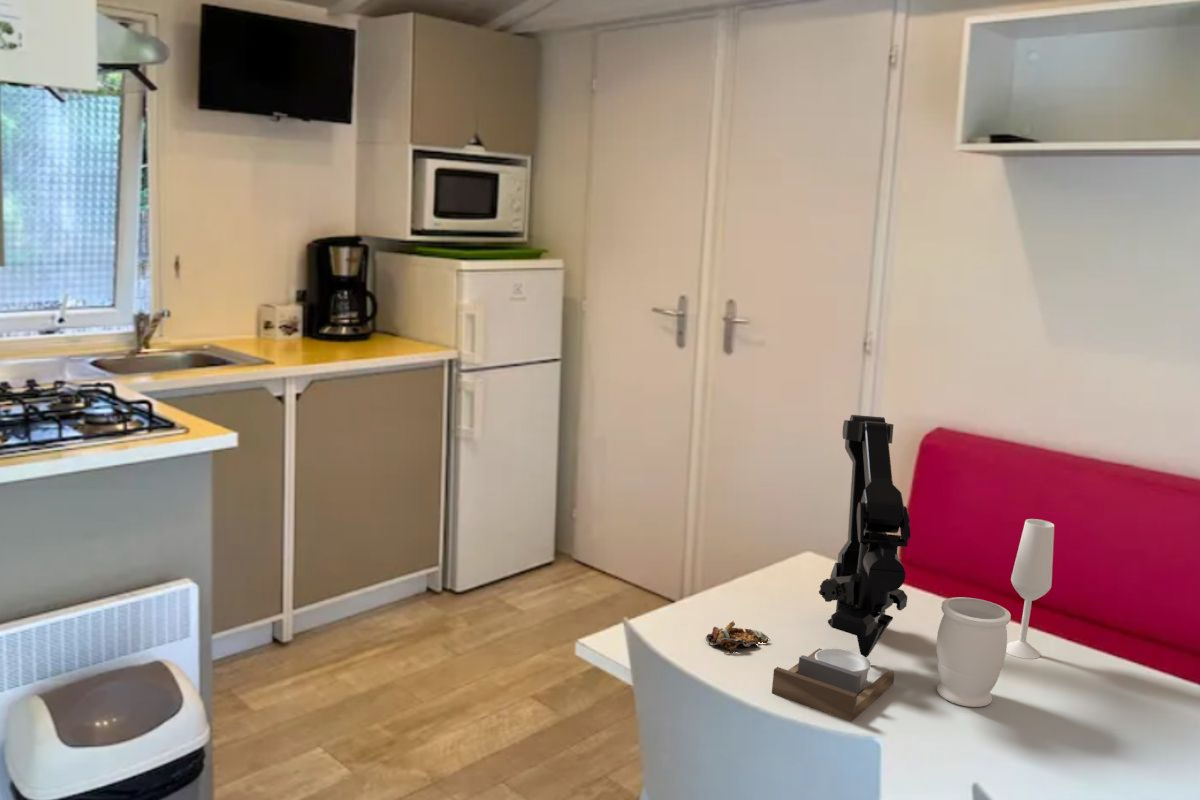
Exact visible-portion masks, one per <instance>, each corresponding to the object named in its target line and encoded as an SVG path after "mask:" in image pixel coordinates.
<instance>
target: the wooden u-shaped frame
mask: <svg viewBox="0 0 1200 800" xmlns="http://www.w3.org/2000/svg"><path fill="white" fill-rule="evenodd" d="M822 649H823V648H820V647H819V648H818V649H816V650H815V651H813V652H812V653H810V654H809V655H807V657H810V658H813V659H815V654H816V652H818V651H819V650H822ZM798 665H799V662H798V663H796V664H795V665H794V666H792V667H791V668H789V669H786V668H785V669H784V668H782V667H779V666H777V667H775V668H774V669H773V673H772V674H773V675H772V684H771V685H772V687H771V694H774V695H777V696H779V697H782V698H785V699H788V700H790V701H793V702H796V703H798V704H802V705H804V706H806V707H807V706H808V707H810V708H811V709H812V708H813V709H816V710H818V711H822V712H823V713H824V712H825V713H827V714H830V715H831V716H832V715H833V716H835V717H838V718H840V719H844V720H846V721H849V722H852V721H854V719H856V718H857V717H858V716H860V714H861V713H862V712H864V711H865V710H866V709H867V708H869V706H870V705H871V704H872V703H874V702H875V701H876V700H878V699H879V697H880V696H882V695H883V694H884V693H885V692H886V691H887V690H888V689H890V688H891V687H892V686H893V685H894V682H895V674H896V672H894V671H891V670H887V671H885V672H883V674H882V675H881V676H879V677H877V679H876V680H875V681H873V682H872V683H871V684H870V685H869V686H868V687H866V688H864V689H863V690H862V692H861V693H859V695H858V696H857V694H855V693H852V692H850V691H847V690H844V689H841V688H838V687H835V686H832V685H829V684H826V683H823V682H820V681H817V680H814V679H812V678H809V677H806V676H803V675H800V674H798Z"/></svg>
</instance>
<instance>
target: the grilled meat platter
mask: <svg viewBox="0 0 1200 800" xmlns="http://www.w3.org/2000/svg"><path fill="white" fill-rule="evenodd" d="M735 625H736V622H734V620H732V621H731V622H729V623H728V624H727V625H726V627H725V628H723V627H721V628H719V627H718V626H713V627H712V632H711V633H708V634H707V635H706V636H705V641H706V642H707V643H709V644H710V645H711V646H715V645H721V646H722V647H723V648H726V650H729V652H731V653H729V652H724V653H723V655H725V656H731V655H732V654H733V652H734V653H735V652H738V653H739V651H738V649H737V647H738V646H739V645H740V644H741V645H742V646H744V647H751V645H755V646H756V644H758V642H760V643H762V642H763V643H767V642H769V641H768V639H769V640H770V638H769V636H768V635H766V634H764V632H763V631H758V630H757V629H756V630H755V629H752V628H744V629H743V628H742V627H734V626H735ZM767 644H768V643H767ZM758 645H759V644H758Z"/></svg>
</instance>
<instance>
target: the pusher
mask: <svg viewBox="0 0 1200 800" xmlns="http://www.w3.org/2000/svg"><path fill="white" fill-rule="evenodd" d="M798 663H799V665H798V674H800V675H803V676H806V677H809V678H812V679H814V680H817V681H820V682H823V683H826V684H829V685H832V686H835V687H838V688H841V689H844V690H847V691H850V692H852V693H855V694H857V696H858V695H859V694H860V692H859V689H860V680H861V674H859V673H856V672H853V671H850V670H847V669H844V668H840V667H837V666H834V665H831V664H828V663H825V662H822V661H819V660H816V659H813V658H810V657H808V655H804V654H802V655H800V656H799V659H798Z"/></svg>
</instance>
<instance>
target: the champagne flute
mask: <svg viewBox="0 0 1200 800" xmlns="http://www.w3.org/2000/svg"><path fill="white" fill-rule="evenodd" d="M1054 540H1055V524H1054V523H1052V522H1051V521H1048V520H1044V519H1036V518H1029V519H1028V518H1027V519H1025V521H1024V524H1023V529H1022V532H1021V538H1020V541H1019V545H1018V550H1017V553H1016V557H1015V561H1014V565H1013V568H1012V569H1013V570H1012V572H1011V576H1010V577H1011V578H1010V581H1011V584H1012V587H1013V588H1014V589H1015V591H1016V593H1018V595H1019V596H1020V597H1021V598H1022V599H1023V600H1024V604H1023V609H1022V611H1023V612H1022V617H1021V622H1020V623H1021V624H1020V631H1019V637H1018V639H1017V640H1014V641H1010V642H1007V649H1006V654H1008V655H1011V656H1013V657H1015V658H1016V657H1017V658H1019V659H1026V660H1034V659H1038V658H1040V657H1041V655H1042V654H1041V652H1040V651H1039V650H1037V648H1035V647H1033V646H1032V645H1031V644H1030V643H1029V642H1027V636H1028V631H1029V622H1030V616H1031V611H1032V601H1033V602H1034V601H1036V600H1038V599H1040V598H1041V597H1044V596H1045V595H1046V594H1047V593H1049V591H1050V590H1051V588H1052V584H1053V583H1052V582H1053V581H1052V580H1053V562H1054V559H1053V558H1054V543H1055V542H1054Z"/></svg>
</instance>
